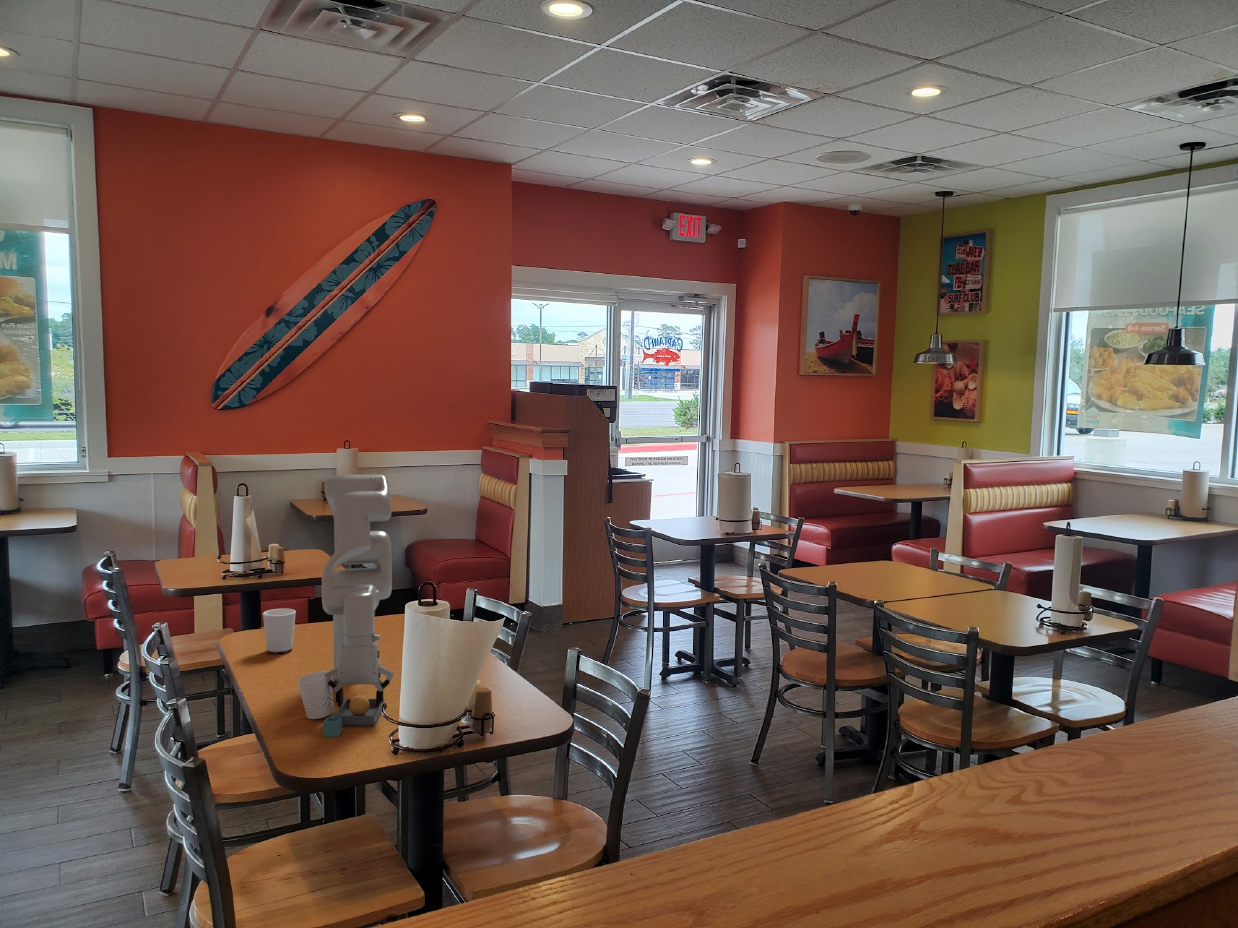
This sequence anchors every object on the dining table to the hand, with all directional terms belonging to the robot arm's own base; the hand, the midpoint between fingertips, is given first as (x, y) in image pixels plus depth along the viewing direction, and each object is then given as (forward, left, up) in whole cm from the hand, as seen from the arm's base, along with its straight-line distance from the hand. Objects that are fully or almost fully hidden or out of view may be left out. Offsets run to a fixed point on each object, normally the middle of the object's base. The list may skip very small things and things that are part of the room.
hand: (359, 705), depth 225 cm
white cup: (-1, -10, -3) cm, 11 cm away
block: (+11, -4, -3) cm, 12 cm away
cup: (-59, -38, -3) cm, 70 cm away
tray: (0, 0, -3) cm, 3 cm away
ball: (0, 0, 0) cm, 0 cm away
